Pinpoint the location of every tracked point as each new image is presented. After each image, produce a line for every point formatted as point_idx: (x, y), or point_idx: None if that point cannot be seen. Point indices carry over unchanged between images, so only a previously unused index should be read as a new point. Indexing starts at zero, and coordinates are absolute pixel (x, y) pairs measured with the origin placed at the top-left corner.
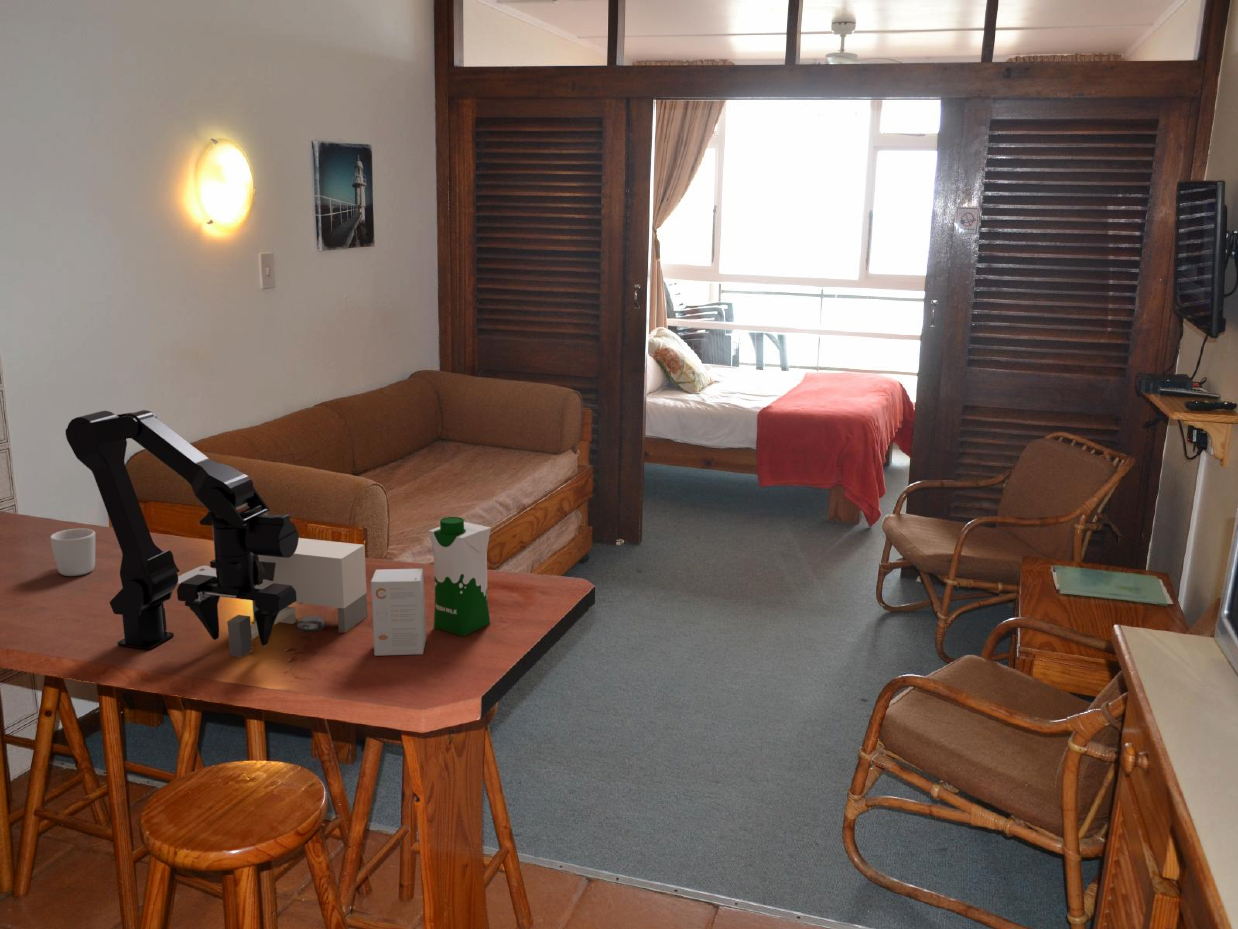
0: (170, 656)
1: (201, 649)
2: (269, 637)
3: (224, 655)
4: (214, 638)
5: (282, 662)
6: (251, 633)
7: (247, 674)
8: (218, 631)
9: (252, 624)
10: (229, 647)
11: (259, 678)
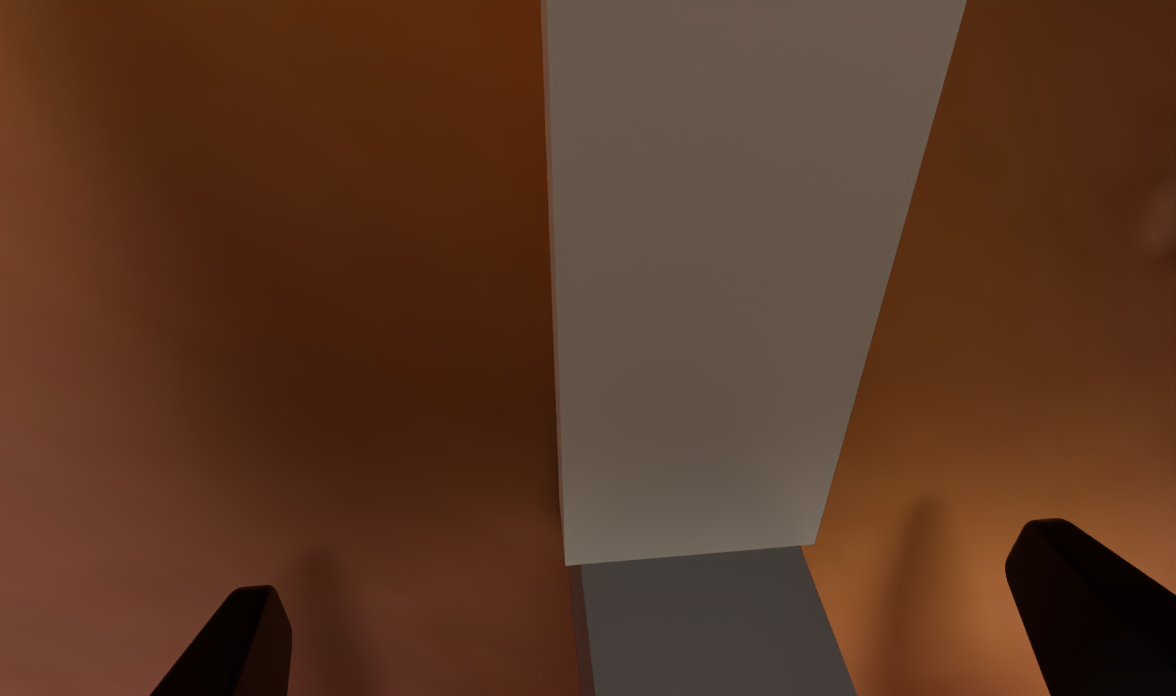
0: (21, 692)
1: (125, 526)
2: (1156, 590)
3: (501, 540)
4: (288, 658)
5: (1170, 470)
6: (783, 525)
7: (914, 673)
8: (246, 668)
9: (562, 230)
10: (573, 615)
11: (1027, 679)
